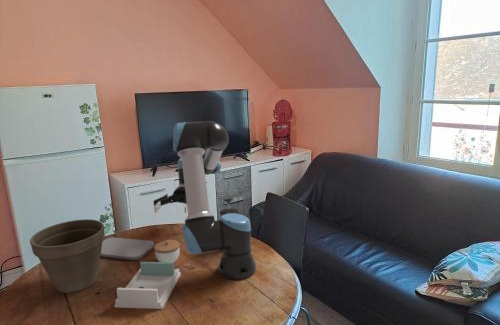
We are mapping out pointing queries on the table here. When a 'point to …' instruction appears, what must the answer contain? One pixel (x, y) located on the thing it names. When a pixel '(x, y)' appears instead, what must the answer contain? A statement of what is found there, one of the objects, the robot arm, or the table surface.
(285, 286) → the table surface
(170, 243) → the lidded jar
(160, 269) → the pusher plate
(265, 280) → the table surface
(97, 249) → the plant pot
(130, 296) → the pusher lane
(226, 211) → the french press
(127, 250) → the tablet
